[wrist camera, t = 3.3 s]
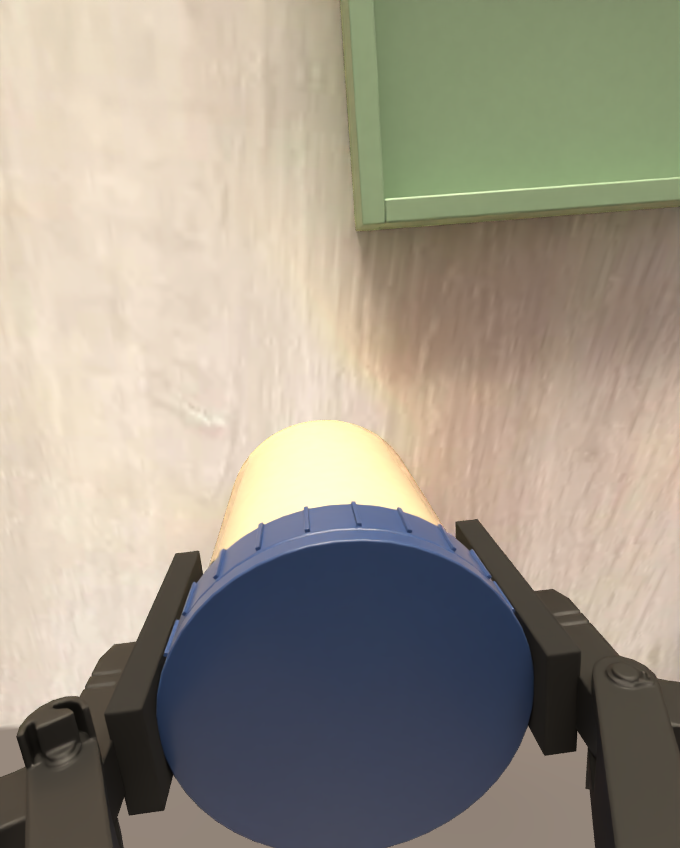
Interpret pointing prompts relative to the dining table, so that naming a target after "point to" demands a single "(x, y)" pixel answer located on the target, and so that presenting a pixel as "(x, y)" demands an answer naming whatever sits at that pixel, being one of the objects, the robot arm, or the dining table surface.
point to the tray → (510, 108)
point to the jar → (318, 477)
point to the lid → (343, 681)
